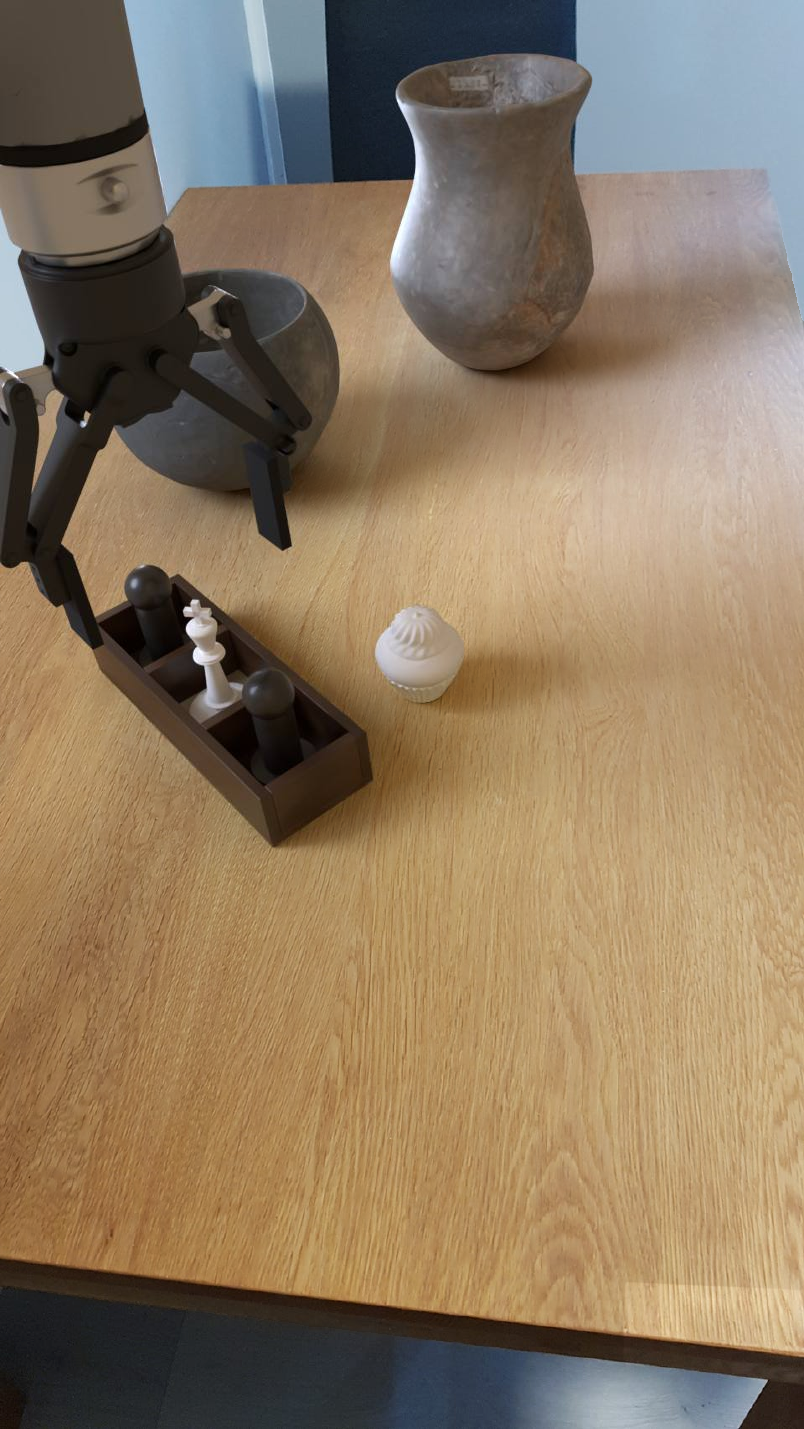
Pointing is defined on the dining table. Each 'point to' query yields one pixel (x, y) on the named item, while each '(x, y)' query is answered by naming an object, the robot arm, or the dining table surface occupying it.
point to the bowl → (242, 382)
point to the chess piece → (209, 665)
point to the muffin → (420, 653)
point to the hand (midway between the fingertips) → (185, 586)
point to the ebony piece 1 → (154, 612)
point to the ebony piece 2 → (274, 725)
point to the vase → (493, 207)
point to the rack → (236, 719)
